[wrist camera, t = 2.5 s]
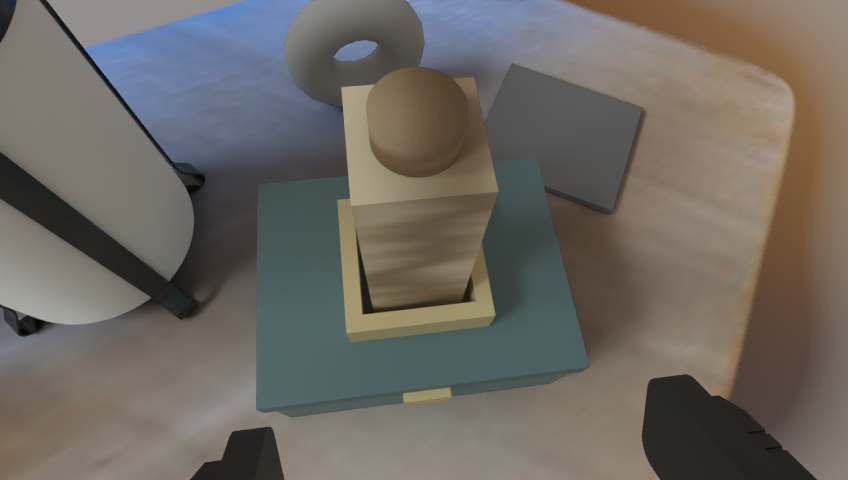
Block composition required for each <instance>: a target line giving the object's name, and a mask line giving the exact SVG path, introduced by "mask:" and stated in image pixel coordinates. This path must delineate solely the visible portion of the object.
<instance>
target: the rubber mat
mask: <svg viewBox="0 0 848 480" xmlns="http://www.w3.org/2000/svg"><path fill="white" fill-rule="evenodd" d="M642 109H643V107H640V106H637V105H634V104H631V103H628V102H625V101H622V100H619V99H616V98H613V97H610V96H607V95H604V94H601V93H598V92H595V91H592V90H589V89H586V88H583V87H580V86H577V85H574V84H571V83H569V82H566V81H563V80H560V79H557V78H554V77H551V76H548V75H545V74H542V73H539V72H536V71H533V70H530V69H527V68H524V67H521V66H518V65H515V64H511V66H510V68H509V71H508V73H507V75H506V77H505V79H504V82H503V84H502V86H501V88H500V90H499V93H498V95H497V97H496V99H495V102H494V104H493V106H492V108H491V110H490V113H489V115H488V117H487V119H486V121H485V124H484V126H485V131H486V136H487V140H488V145H489V150H490V154H491V159H492V162H496V161H506V160H517V159H528V158H537V162H538V166H539V170H540V174H541V177H542V181H543V185H544V189H545V191H547V192H549V193H552V194H555V195H558V196H560V197H563V198H566V199H568V200H571V201H574V202H577V203H579V204H582V205H585V206H587V207H590V208H593V209H596V210H598V211H601V212H604V213H606V214H610V213H611V212H612V211H613V207H614V204H615V201H616V197H617V194H618V190H619V187H620V184H621V180H622V177H623V174H624V170H625V167H626V163H627V160H628V157H629V153H630V150H631V147H632V143H633V140H634V136H635V133H636V130H637V126H638V123H639V120H640V116H641V113H642Z"/></svg>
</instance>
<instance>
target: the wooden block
mask: <svg viewBox="0 0 848 480" xmlns="http://www.w3.org/2000/svg"><path fill="white" fill-rule="evenodd" d="M341 89H342V102H343V114H344V127H345V139H346V152H347V164H348V177H349V190H350V202H351V209H352V214H353V219H354V223H355V228H356V232H357V237H358V242H359V246H360V251H361V256H362V260H363V265H364V269H365V274H366V279H367V283H368V288H369V292H370V297H371V302H372V306H373V311H374V313H381V312H390V311H398V310H407V309H416V308H424V307H433V306H442V305H450V304H459V303H461V301H462V299H463V296H464V293H465V290H466V287H467V284H468V281H469V278H470V275H471V272H472V269H473V266H474V263H475V260H476V257H477V254H478V251H479V248H480V245H481V242H482V239H483V236H484V233H485V230H486V227H487V224H488V221H489V218H490V215H491V212H492V209H493V206H494V203H495V200H496V197H497V194H498V187H497V182H496V178H495V173H494V168H493V164H492V159H491V154H490V150H489V145H488V140H487V136H486V131H485V126H484V121H483V117H482V112H481V107H480V103H479V98H478V93H477V89H476V84H475V79H474V77H464V78H450V77H449V76H447V75H446V74H444V73H442V72H439V71H437V70H433V69H429V68H423V67H409V68H403V69H399V70H396V71H393V72H391V73H389V74H387V75H386V76H384V77H382V78H381V79H380V80H379V81H378V82H377V83H376V84H375V85H363V86H351V87H341Z"/></svg>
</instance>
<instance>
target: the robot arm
mask: <svg viewBox="0 0 848 480" xmlns="http://www.w3.org/2000/svg"><path fill="white" fill-rule="evenodd" d="M642 442H643V447H644V451H645V454H646V457H647V459H648V461H649V463H650V465H651V467H652V468H653V470H654V471H655V472H656V474H657V475H658V477H659V478H660V480H817V479H816V478H815V477H814V476H813V475H812V474H810V473H809V472H808V471H807V470H806V469H805V468H804V467H803V466H802V465H801V464H800V463H799V462H798V461H797V460H796V459H795V458H794V457H793V456H792V455H791V454H789V452H788V451H786V450H785V451H784V450H783V449H782V446H781V445H780V444H779V443H778V442H777V441H776V440H775V439H774V438H773V437H772V436H771V435H770V434H766V433H765V429H764V428H763V427H762V426H760V425H759V424H758V423H757V422H756V421H755V420H754V419H753V418H752V417H751V416H750V415H749V414H748V413H747V412H746V411H745V410H743V409H741V408H739V407H738V406H736V405H734V404H733V403H731V402H729V401H727V400H726V399H724V398H722V397H720V396H711V395H710V394H709V393H708V392H707V391H706V390H705V389H704V388H703V387H702V386H701V385H700V384H699V383H698V382H697V381H696V380H695V379H694V378H693V377H692V376H690V375H686V374H685V375H677V376H669V377H661V378H654V379H651V380H650V382H649V384H648V388H647V396H646V405H645V413H644V422H643V430H642ZM190 480H284V476H283V472H282V467H281V462H280V458H279V453H278V449H277V444H276V440H275V435H274V432H273V429H272V428H271V427H264V428H256V429H248V430H240V431H234V432H232V433H231V435H230V437H229V440H228V443H227V446H226V449H225V452H224V454H223V457H222V460H220V461H212V462H205V463H204V464H203V465H202V466H201V468H200V469H199V470H198V471H197V472H196V473H195V475H194V476H193V477H192V478H191V479H190Z"/></svg>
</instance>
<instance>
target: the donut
mask: <svg viewBox="0 0 848 480" xmlns="http://www.w3.org/2000/svg"><path fill="white" fill-rule="evenodd" d="M362 40H368V41H373V42H376V43H378V45H377V47H376V49H375V50H374V51H373V52H372V53H371V54H370V55H368V56H366V57H365V58H362V59H359V60H356V61H348V62H345V61H339V60H337V59H335V58H334V55H335V54H336V53H337V52H338V51H339V49H340V48H342V47H344V46H345V45H347V44H349V43H353V42H356V41H362ZM424 45H425V42H424V35H423V29H422V23H421V21H420V19H419V18H418V16H417V14H416V13H415V11H414V10H413V8H412V7H411V5H410V4H409V3H408V2H407V1H405V0H312V1H311V2H309V3H308V4H306V5H305V6H304V7H303V8H302V10H301V11H300V12H299V13H298V14H297V16H296V17H295V18H294V19H293V21H292V23H291V25H290V27H289V30H288V33H287V36H286V39H285V42H284V51H285V64H286V68H287V70H288V72H289V74H290V75H291V77H292V79H293V81H294V83H295V84H296V86H297V87H299V88H300V89H301V90H302V91H303V92H305V93H306V94H307V95H308V96H310V97H311V98H312V99H314V100H317V101H320V102H322V103H325V104H328V105H332V106H341V107H343V102H342V89H341V87H351V86H363V85H375V84H376V83H377V82H378V81H379V80H380V79H381V78H382V77H384V76H386V75H387V74H389V73H391V72H393V71H396V70H399V69H403V68H409V67H418V66H419V65H420V61H421V57H422V53H423V49H424Z"/></svg>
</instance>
